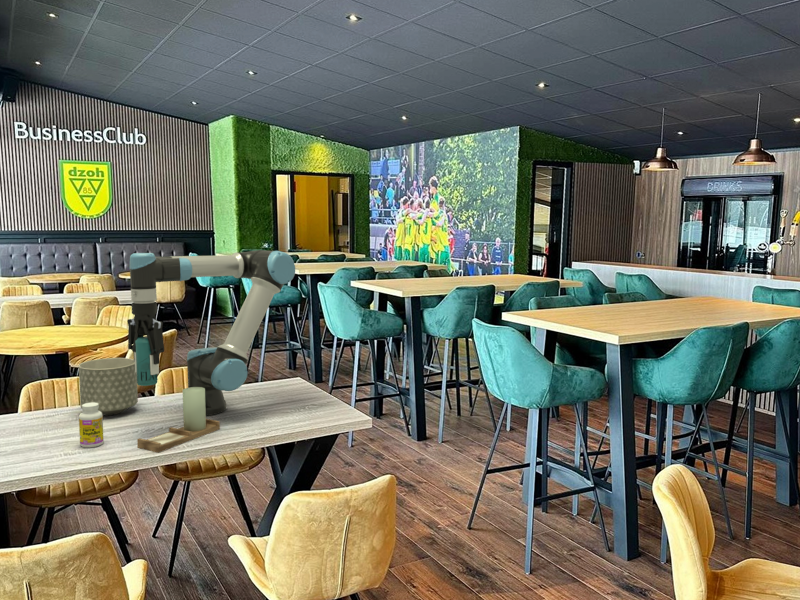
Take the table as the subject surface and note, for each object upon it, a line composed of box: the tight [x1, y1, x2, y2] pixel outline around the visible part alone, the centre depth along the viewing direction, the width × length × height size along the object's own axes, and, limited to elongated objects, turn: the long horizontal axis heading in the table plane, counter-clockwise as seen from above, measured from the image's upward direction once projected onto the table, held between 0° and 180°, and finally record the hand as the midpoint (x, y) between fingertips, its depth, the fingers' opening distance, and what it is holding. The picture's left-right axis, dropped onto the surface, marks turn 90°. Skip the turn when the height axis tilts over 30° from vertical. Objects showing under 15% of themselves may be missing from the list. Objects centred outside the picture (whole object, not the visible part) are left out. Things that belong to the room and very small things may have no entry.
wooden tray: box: [136, 418, 221, 453], centre depth 209 cm, size 9×26×3 cm, turn 152°
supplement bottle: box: [78, 402, 104, 448], centre depth 202 cm, size 7×7×13 cm
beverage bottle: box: [135, 327, 159, 387], centre depth 209 cm, size 6×7×20 cm
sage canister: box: [182, 387, 207, 432], centre depth 214 cm, size 7×7×13 cm
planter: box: [78, 357, 139, 416], centre depth 236 cm, size 19×19×18 cm
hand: (147, 372), depth 210 cm, fingers closed on beverage bottle, 6 cm apart
